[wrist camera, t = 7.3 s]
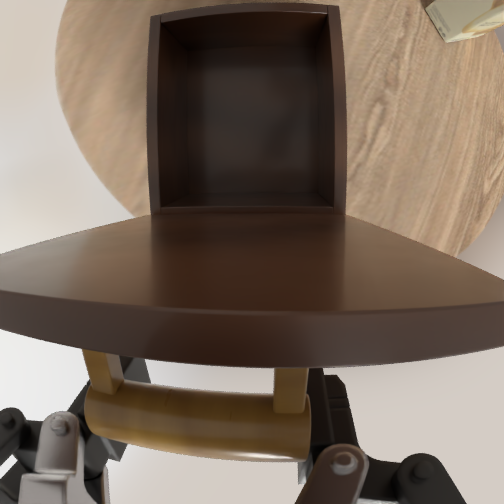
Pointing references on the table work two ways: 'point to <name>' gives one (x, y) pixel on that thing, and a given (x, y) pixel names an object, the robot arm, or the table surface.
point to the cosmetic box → (465, 17)
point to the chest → (247, 110)
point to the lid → (240, 317)
